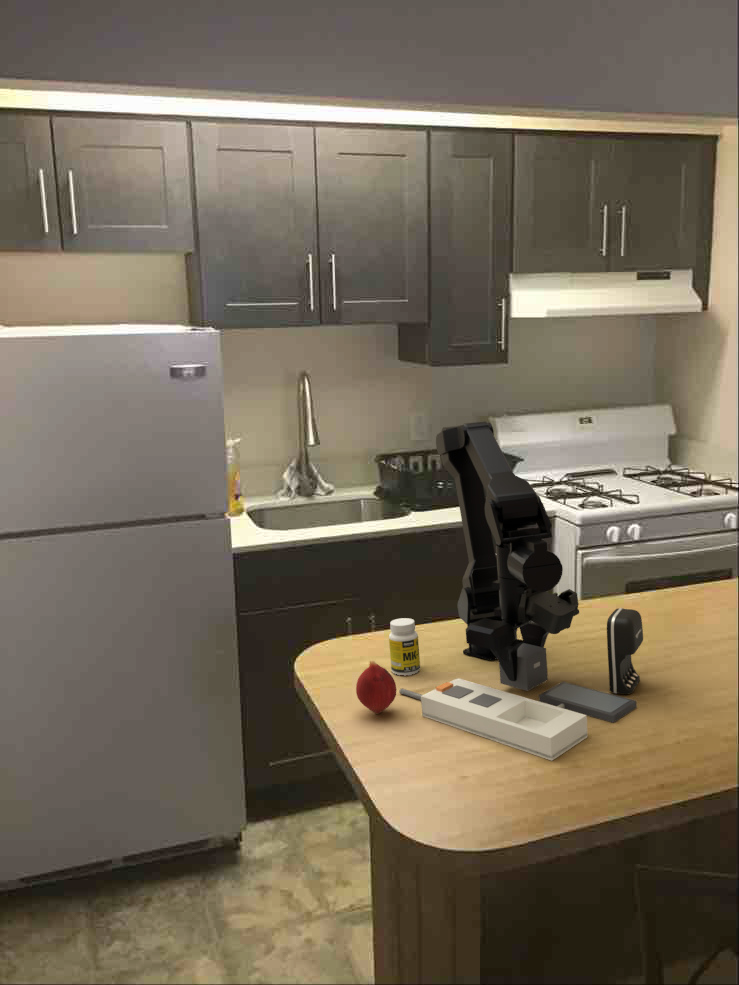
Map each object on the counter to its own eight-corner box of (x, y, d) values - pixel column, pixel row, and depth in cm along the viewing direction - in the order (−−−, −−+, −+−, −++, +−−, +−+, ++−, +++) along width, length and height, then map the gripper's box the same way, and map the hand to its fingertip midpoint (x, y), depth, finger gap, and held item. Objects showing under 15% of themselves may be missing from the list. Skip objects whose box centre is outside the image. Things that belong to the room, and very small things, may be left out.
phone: (512, 716, 117) (511, 709, 117) (563, 687, 125) (562, 680, 125) (587, 740, 108) (587, 732, 108) (636, 707, 116) (636, 700, 116)
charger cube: (500, 683, 126) (498, 651, 125) (520, 672, 129) (518, 641, 128) (528, 691, 122) (526, 658, 121) (548, 680, 126) (546, 648, 125)
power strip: (381, 701, 126) (379, 680, 125) (418, 684, 131) (416, 663, 131) (551, 760, 104) (550, 734, 103) (587, 736, 109) (586, 712, 108)
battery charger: (635, 698, 119) (632, 621, 117) (608, 694, 121) (605, 618, 119) (646, 679, 125) (643, 606, 123) (620, 676, 127) (617, 604, 125)
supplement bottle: (405, 678, 134) (401, 628, 133) (385, 672, 138) (381, 623, 136) (426, 669, 137) (422, 620, 136) (406, 663, 141) (402, 615, 139)
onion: (403, 705, 124) (398, 654, 123) (391, 722, 118) (386, 669, 117) (366, 703, 126) (361, 652, 124) (352, 720, 120) (347, 667, 119)
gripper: (523, 598, 111) (530, 709, 113) (600, 566, 123) (605, 666, 126) (459, 587, 119) (467, 690, 122) (537, 557, 131) (543, 652, 134)
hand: (523, 674), depth 126 cm, fingers closed on charger cube, 5 cm apart
